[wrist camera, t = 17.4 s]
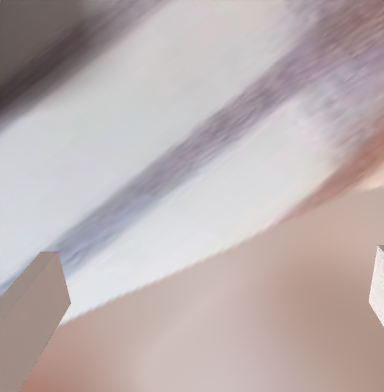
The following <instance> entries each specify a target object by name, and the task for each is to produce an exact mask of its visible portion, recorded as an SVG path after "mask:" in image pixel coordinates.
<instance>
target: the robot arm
mask: <svg viewBox="0 0 384 392" xmlns="http://www.w3.org/2000/svg"><path fill="white" fill-rule="evenodd" d="M369 303H370V304H371V306H372V308H373V310H374V311H375V313H376V314H377V316H378V317H379V320H380V321H381V323H382V325H383V326H384V245H380V246H379V245H378V248H377V254H376V260H375V266H374V272H373V278H372V284H371V291H370V297H369ZM70 304H71V302H70V298H69V294H68V290H67V286H66V282H65V278H64V274H63V270H62V266H61V262H60V258H59V254H58V252H40V254H39V255H38V256H37V257H36V258H35V259H34V260H33V261H32V263H31V264H30V265H29V266H28V267H27V268H26V269H25V271H24V272H23V273H22V274H21V275H20V276H19V277H18V278H17V280H16V281H15V282H14V283H13V284H12V285H11V286H10V287H9V289H8V290H7V291H6V292H5V293H4V294H3V295H2V297H1V298H0V392H19V391H20V389H21V387H22V386H23V384H24V382H25V381H26V379H27V377H28V376H29V374H30V372H31V371H32V369H33V367H34V365H35V364H36V362H37V360H38V358H39V357H40V355H41V353H42V352H43V350H44V348H45V346H46V345H47V343H48V341H49V339H50V338H51V336H52V335H53V333H54V331H55V330H56V328H57V326H58V324H59V323H60V321H61V319H62V318H63V316H64V314H65V312H66V311H67V309H68V307H69V306H70Z"/></svg>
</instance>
